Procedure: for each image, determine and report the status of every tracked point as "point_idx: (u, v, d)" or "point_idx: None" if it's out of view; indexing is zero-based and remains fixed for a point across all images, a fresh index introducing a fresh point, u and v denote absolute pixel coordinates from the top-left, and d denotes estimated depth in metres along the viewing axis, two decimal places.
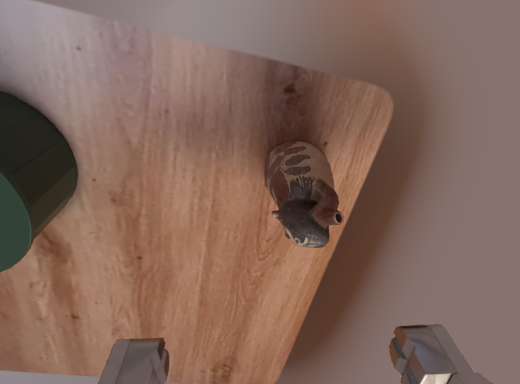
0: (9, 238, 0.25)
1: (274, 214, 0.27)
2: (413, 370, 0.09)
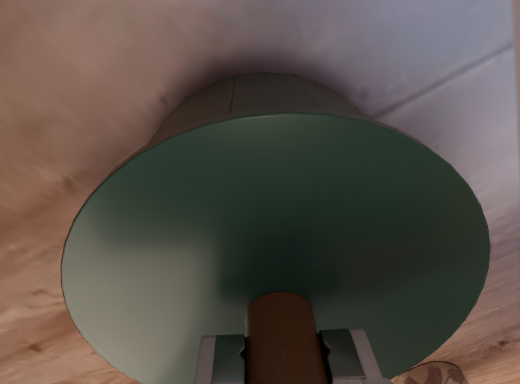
0: None
1: None
2: (327, 374, 0.09)
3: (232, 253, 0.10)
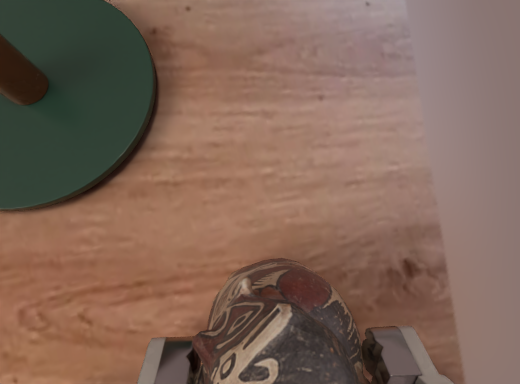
0: None
1: (247, 283, 0.10)
2: (380, 372, 0.09)
3: (37, 38, 0.19)
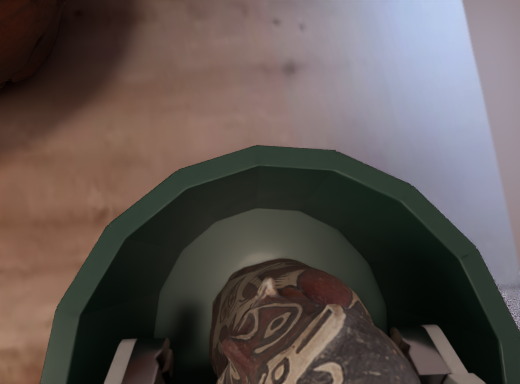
0: None
1: (272, 283, 0.09)
2: None
3: None
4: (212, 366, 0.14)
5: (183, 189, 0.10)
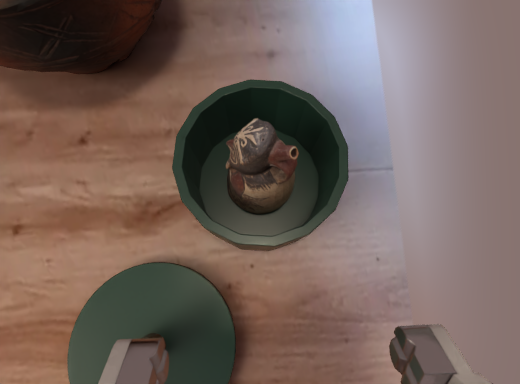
0: None
1: None
2: (413, 370, 0.09)
3: (155, 307, 0.28)
4: (228, 190, 0.30)
5: (221, 95, 0.26)
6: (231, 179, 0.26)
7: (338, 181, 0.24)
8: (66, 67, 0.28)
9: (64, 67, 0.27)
